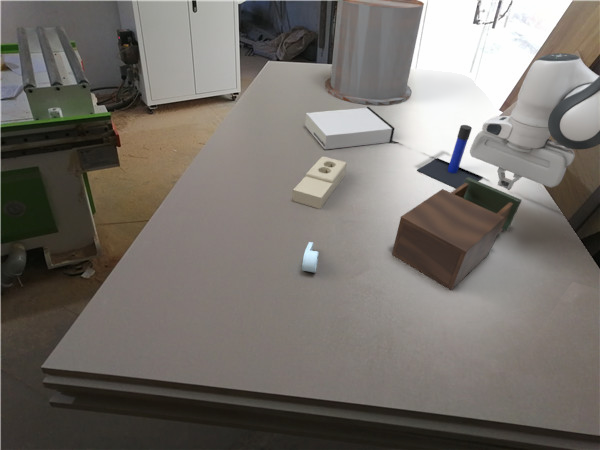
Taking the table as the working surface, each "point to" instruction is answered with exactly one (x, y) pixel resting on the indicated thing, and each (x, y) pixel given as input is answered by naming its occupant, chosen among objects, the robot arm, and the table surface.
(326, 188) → the electrical outlet
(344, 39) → the storage basket
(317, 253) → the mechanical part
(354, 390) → the table surface
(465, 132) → the marker
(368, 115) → the disc drive
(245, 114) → the table surface
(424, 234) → the cabinet
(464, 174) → the mat
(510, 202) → the drawer
